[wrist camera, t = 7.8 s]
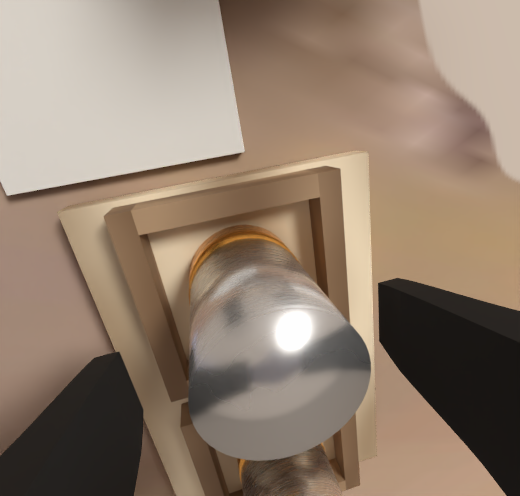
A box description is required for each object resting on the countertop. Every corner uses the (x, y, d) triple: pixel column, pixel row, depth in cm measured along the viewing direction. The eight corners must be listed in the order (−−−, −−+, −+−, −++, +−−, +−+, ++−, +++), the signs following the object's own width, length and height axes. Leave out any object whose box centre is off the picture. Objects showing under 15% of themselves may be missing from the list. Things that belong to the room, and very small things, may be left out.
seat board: (186, 499, 17) (186, 548, 15) (68, 206, 11) (39, 221, 9) (367, 439, 19) (389, 477, 17) (355, 150, 12) (386, 153, 10)
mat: (13, 193, 10) (7, 195, 10) (-100, -51, 8) (-114, -60, 8) (243, 151, 11) (244, 152, 11) (203, -76, 9) (204, -84, 9)
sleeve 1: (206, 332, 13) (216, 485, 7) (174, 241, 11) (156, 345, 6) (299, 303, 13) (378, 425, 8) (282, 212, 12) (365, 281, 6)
